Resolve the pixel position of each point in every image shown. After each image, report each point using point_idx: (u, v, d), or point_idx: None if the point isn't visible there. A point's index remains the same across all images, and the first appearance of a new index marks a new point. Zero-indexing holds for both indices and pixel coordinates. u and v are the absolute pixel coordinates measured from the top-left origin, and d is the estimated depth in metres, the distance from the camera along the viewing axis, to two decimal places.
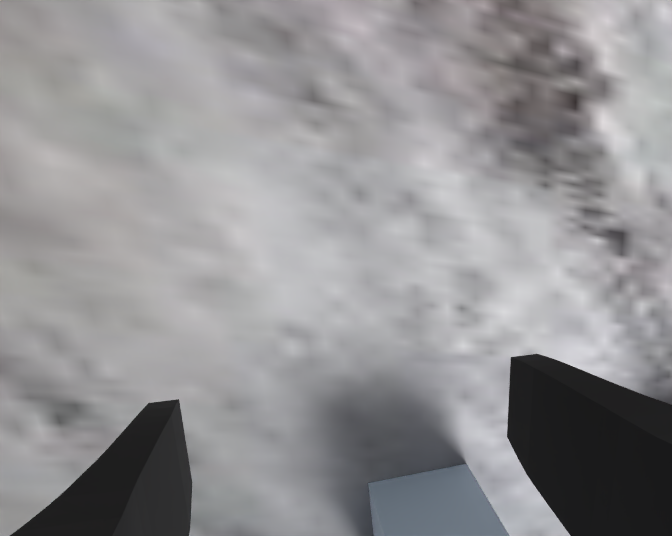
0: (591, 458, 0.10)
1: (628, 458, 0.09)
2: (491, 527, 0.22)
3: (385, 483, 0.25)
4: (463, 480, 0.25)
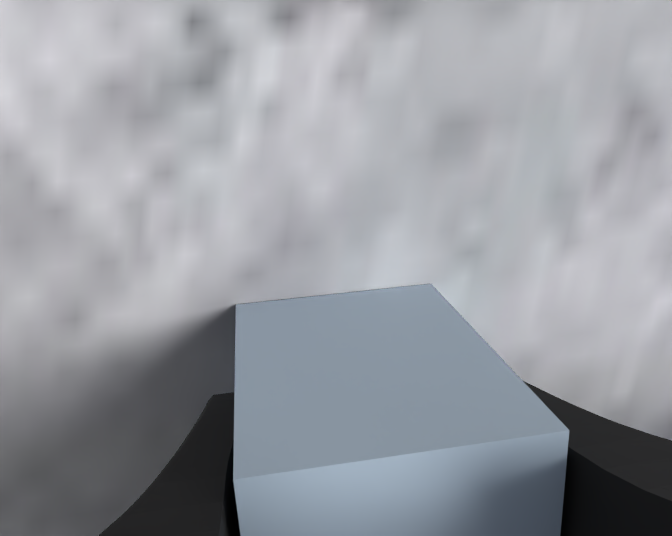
0: None
1: None
2: None
3: None
4: None
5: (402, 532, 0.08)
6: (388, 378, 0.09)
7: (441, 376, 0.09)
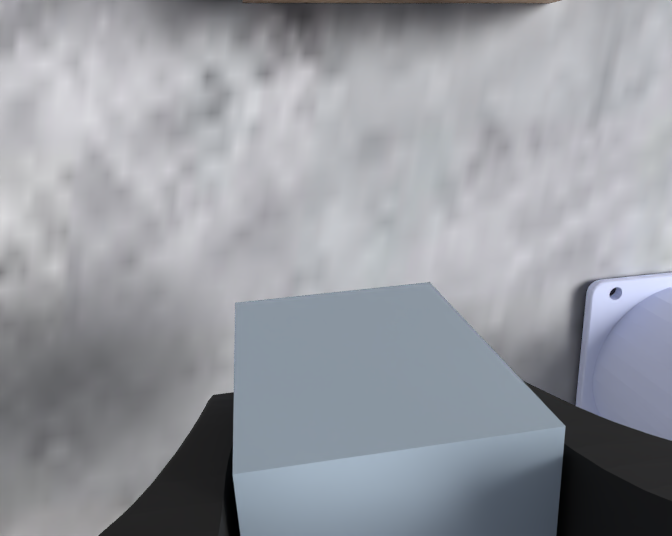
0: None
1: None
2: None
3: None
4: None
5: (400, 527, 0.08)
6: (386, 375, 0.09)
7: (438, 373, 0.09)
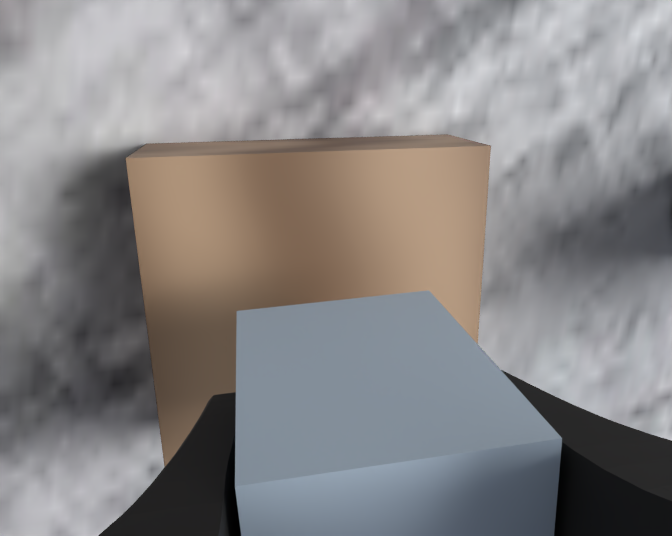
0: None
1: None
2: None
3: None
4: None
5: None
6: (385, 386, 0.10)
7: (437, 384, 0.10)
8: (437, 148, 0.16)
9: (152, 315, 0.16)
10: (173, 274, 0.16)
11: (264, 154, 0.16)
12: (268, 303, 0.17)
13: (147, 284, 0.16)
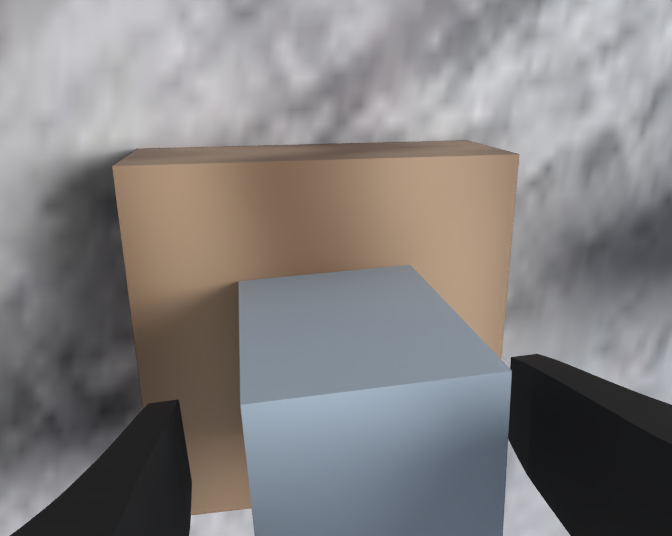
0: (591, 458, 0.10)
1: (628, 458, 0.09)
2: None
3: None
4: None
5: (377, 454, 0.10)
6: (367, 336, 0.11)
7: (411, 334, 0.11)
8: (460, 156, 0.15)
9: (142, 340, 0.15)
10: (166, 295, 0.15)
11: (268, 162, 0.14)
12: None
13: (136, 306, 0.15)
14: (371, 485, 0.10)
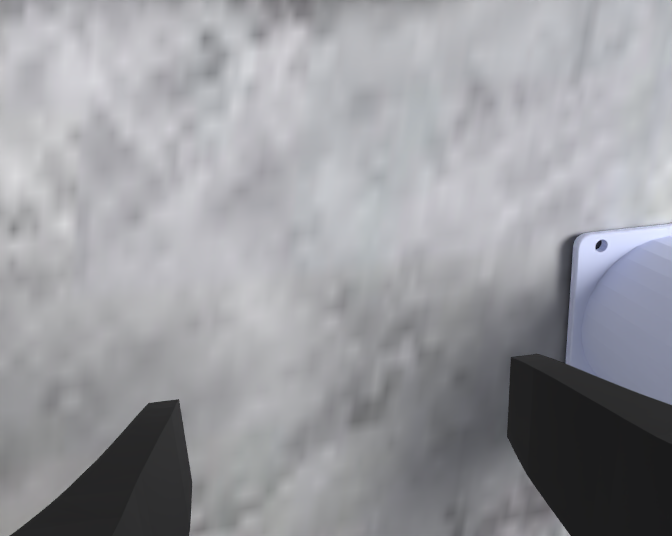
0: (590, 458, 0.10)
1: (628, 458, 0.09)
2: None
3: None
4: None
5: None
6: None
7: None
8: None
9: None
10: None
11: None
12: None
13: None
14: None
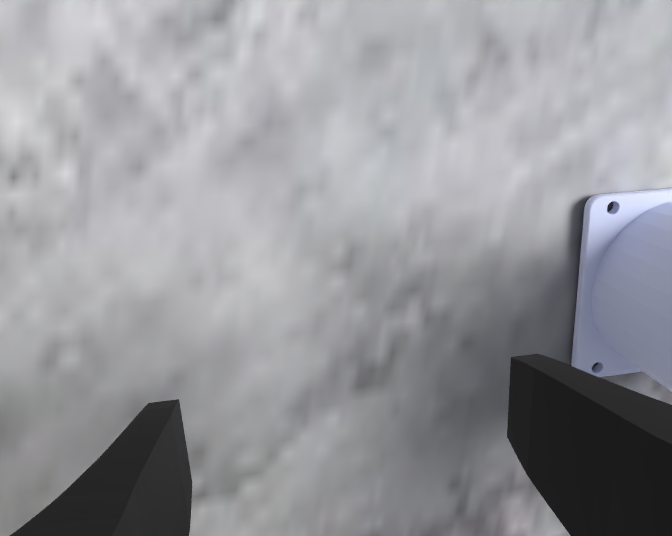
0: (590, 458, 0.10)
1: (628, 458, 0.09)
2: None
3: None
4: None
5: None
6: None
7: None
8: None
9: None
10: None
11: None
12: None
13: None
14: None
